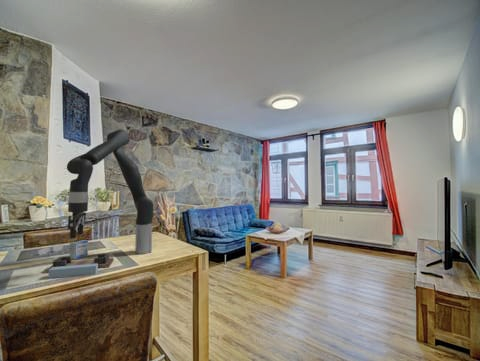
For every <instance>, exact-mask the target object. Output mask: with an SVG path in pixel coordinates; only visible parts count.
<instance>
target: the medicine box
mask: <svg viewBox="0 0 480 361" xmlns="http://www.w3.org/2000/svg"><path fill="white" fill-rule="evenodd" d="M69 248H70V249H69V256H71V260H77V259H80V257H81V258H83V256H84V257H86V256H88V254H89V253H88V252H89V251H88V250H89V240H88V239H86V240H85V239H83V240H82V239H81V240H78V241H74V242H71V243H69Z"/></svg>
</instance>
